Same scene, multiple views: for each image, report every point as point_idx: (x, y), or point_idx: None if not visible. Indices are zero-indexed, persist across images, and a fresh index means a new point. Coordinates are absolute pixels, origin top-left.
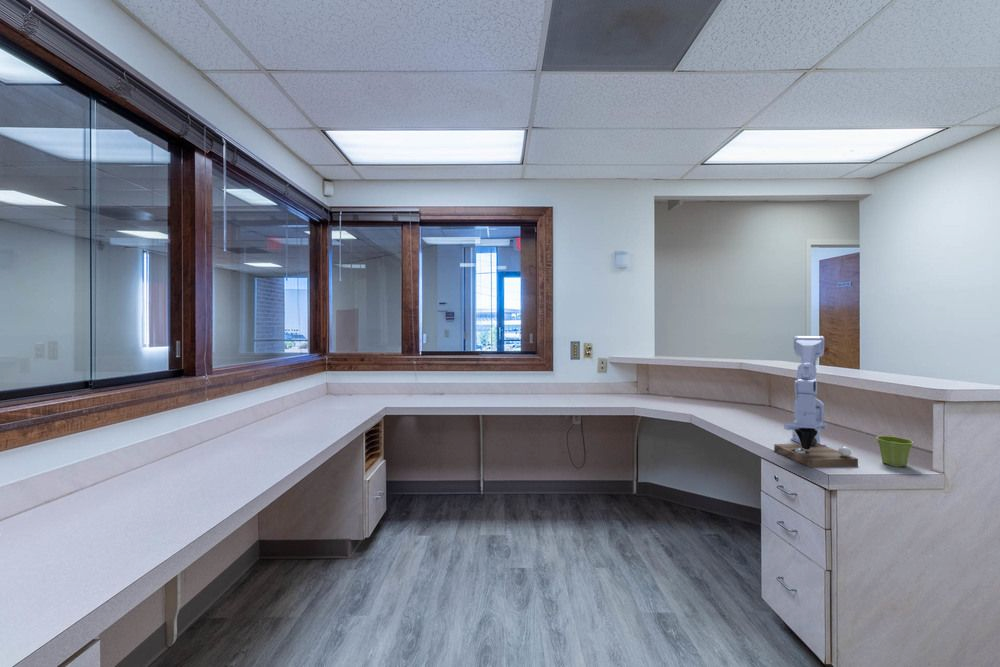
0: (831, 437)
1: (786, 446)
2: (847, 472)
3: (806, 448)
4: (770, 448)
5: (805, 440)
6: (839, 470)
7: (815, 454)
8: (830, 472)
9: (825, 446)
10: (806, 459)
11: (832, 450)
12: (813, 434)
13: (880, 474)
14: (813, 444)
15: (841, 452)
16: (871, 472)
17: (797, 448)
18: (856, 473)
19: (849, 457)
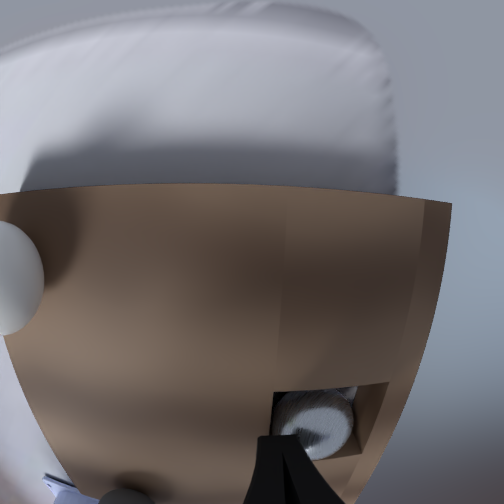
0: (14, 491)
1: None
2: (200, 46)
3: (295, 439)
4: None
5: (342, 501)
6: (226, 88)
7: (259, 356)
8: (339, 63)
9: (62, 459)
10: (444, 234)
11: (48, 404)
12: None
13: (31, 40)
14: (129, 492)
15: (28, 260)
16: (42, 65)
17: None
18: (150, 30)
19: None
